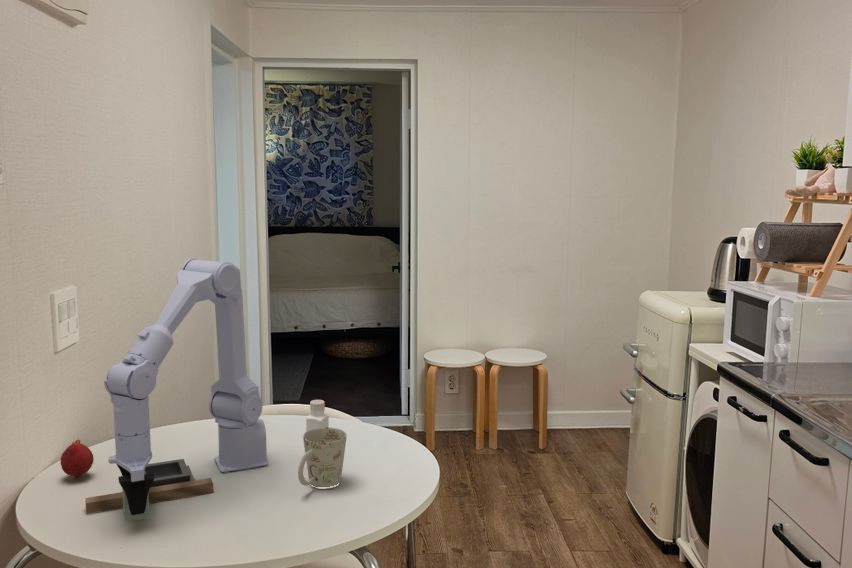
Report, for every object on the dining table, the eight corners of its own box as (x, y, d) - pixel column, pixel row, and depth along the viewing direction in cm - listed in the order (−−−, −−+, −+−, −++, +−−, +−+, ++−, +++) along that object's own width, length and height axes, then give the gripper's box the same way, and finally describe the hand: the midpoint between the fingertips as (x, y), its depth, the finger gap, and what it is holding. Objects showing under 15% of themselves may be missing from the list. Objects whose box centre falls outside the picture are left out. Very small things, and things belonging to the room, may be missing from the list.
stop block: (147, 508, 135) (145, 476, 134) (149, 517, 131) (148, 485, 130) (123, 512, 133) (121, 480, 132) (125, 522, 129) (123, 489, 128)
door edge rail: (211, 487, 143) (210, 477, 143) (213, 492, 141) (213, 482, 141) (85, 508, 134) (85, 498, 134) (86, 514, 132) (85, 503, 131)
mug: (354, 479, 148) (354, 431, 147) (319, 504, 137) (319, 453, 135) (318, 471, 152) (318, 424, 150) (282, 495, 140) (281, 445, 139)
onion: (81, 485, 143) (79, 446, 142) (55, 482, 144) (52, 443, 143) (100, 473, 149) (98, 435, 148) (74, 471, 150) (72, 433, 149)
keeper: (188, 468, 152) (188, 456, 152) (197, 489, 143) (197, 476, 142) (131, 477, 148) (130, 464, 147) (136, 499, 138) (135, 486, 137)
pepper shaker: (321, 446, 165) (320, 405, 164) (305, 444, 167) (304, 403, 165) (329, 440, 169) (329, 400, 167) (314, 438, 170) (313, 398, 169)
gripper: (105, 420, 134) (108, 492, 136) (110, 448, 121) (113, 526, 123) (146, 415, 137) (149, 485, 139) (155, 442, 124) (158, 518, 126)
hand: (135, 504), depth 132 cm, fingers open, 7 cm apart
